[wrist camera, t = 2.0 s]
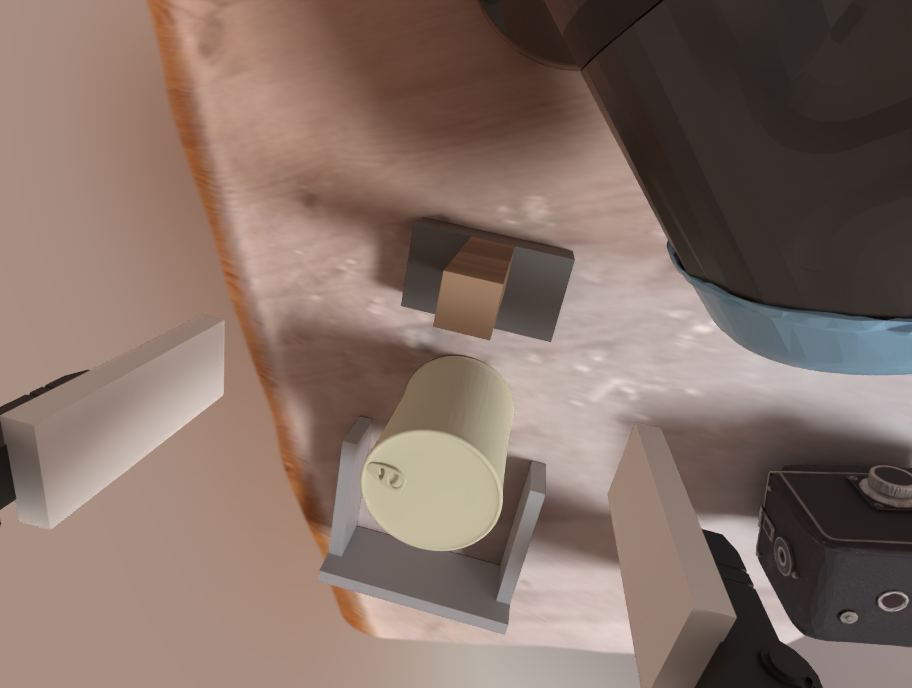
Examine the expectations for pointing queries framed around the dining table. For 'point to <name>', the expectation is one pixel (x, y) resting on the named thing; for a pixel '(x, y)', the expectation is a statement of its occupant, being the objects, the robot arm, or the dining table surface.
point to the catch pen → (424, 553)
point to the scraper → (485, 280)
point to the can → (442, 456)
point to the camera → (841, 551)
